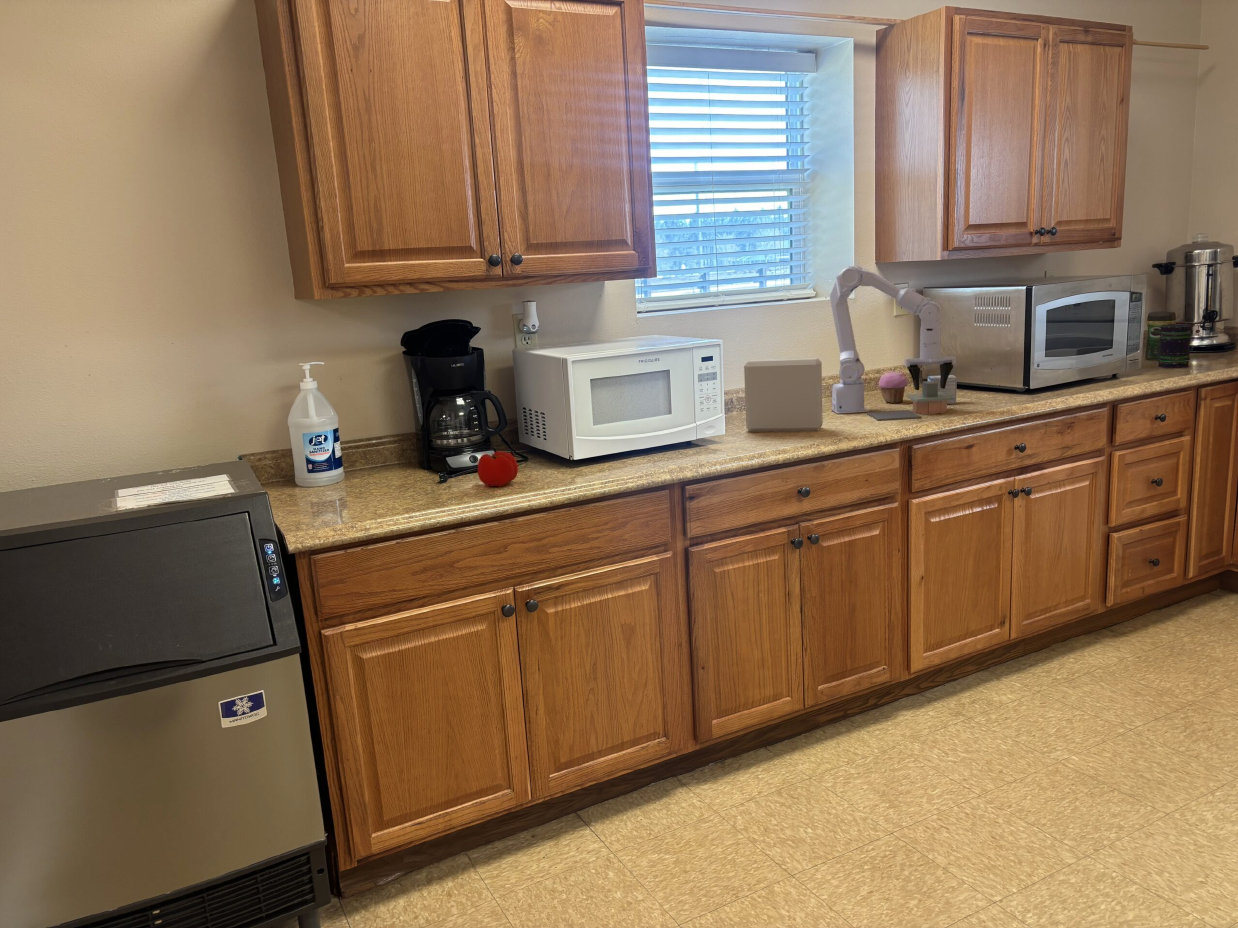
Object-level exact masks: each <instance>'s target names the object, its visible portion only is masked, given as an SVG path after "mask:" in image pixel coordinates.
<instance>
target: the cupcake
mask: <svg viewBox="0 0 1238 928" xmlns="http://www.w3.org/2000/svg"><path fill="white" fill-rule="evenodd" d="M908 382H909V381H908V379H907V377H906V376H905V374H903V373H902V372H897V371H892V372H886V373H884V374H882V375H881V377H880V378H879V380H878V387H879V388H880V391H881V396H882V398H883V400H884V401H885V402H886V403H890V404H896V403H902V402H903V401H904V397H905V388H906V387H907V386H908V384H909V383H908Z"/></svg>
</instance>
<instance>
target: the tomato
mask: <svg viewBox="0 0 1238 928" xmlns="http://www.w3.org/2000/svg"><path fill="white" fill-rule="evenodd" d="M518 473H519V466H518V461H517V460H516V458H515V457H514V455H512V454H511V453H510V452H507V451H506V452H505V451H501V450H499V451H495V452H494V453H491V455H490V454H488V453H483V454H482V455H481V456H480V458H479V459H478V463H477V475H478V478H479V480H480V482H481V483H482V484H483V485H485V486H487V487H497V486H501V487H503V486H504V485H505V486H506V485H507V484H508V483H511V482H512V481H513V480H515V479H516V478H517V475H518Z"/></svg>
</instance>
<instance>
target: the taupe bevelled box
mask: <svg viewBox="0 0 1238 928" xmlns="http://www.w3.org/2000/svg"><path fill="white" fill-rule="evenodd" d="M822 368H823V367H822V361H821V360H820V359H819V358H818V357H807V358H806V357H803V358H777V359H776V358H772V359H750V360H747V362H746V363H745V364H744V366H743V369H744V370H743V375H744V377H743V378H744V400H745V406H744V407H745V425H746V426H745V427H746V429H747V430H748V432H751V433H752V432H755V433H756V432H757V433H761V432H763V433H764V432H768V433H769V432H819V430H820V429H821V428H822V427H823V424H824V423H823V422H824V421H823V372H822V371H823V370H822Z"/></svg>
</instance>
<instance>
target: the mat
mask: <svg viewBox="0 0 1238 928" xmlns="http://www.w3.org/2000/svg"><path fill="white" fill-rule="evenodd" d="M866 415H868V417H871V418H872V417H873V418H872V419H874V420H876V421H877V422H878V421H879V422H881V421H882V420H883V421H897V420H914V419H915V418H916V419H921V418H922V416H921V415H920V414H919V415H918V414H917V413H915V412H913V411H910V410H909V409H903V410H901V409H899V410H887V411H886V410H883V411H872V412H871V411H870V412H869V411H868V412H866ZM883 421H882V422H883Z"/></svg>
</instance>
